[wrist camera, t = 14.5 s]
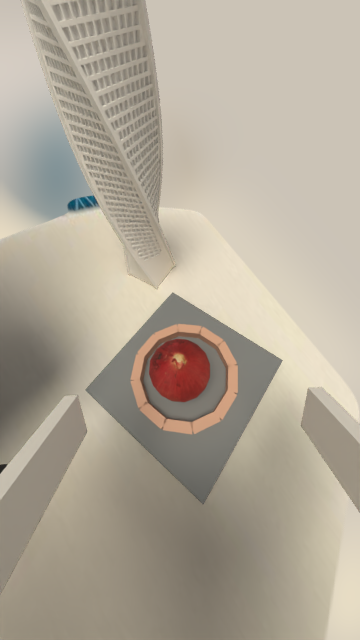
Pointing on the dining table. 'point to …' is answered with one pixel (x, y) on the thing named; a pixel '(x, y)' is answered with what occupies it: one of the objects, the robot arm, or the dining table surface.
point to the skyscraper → (109, 114)
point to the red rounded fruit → (179, 370)
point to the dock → (194, 415)
